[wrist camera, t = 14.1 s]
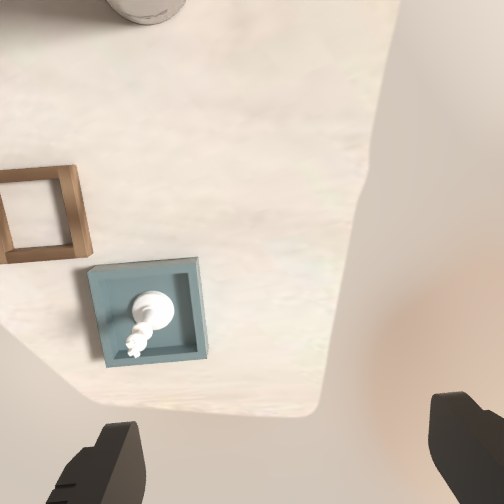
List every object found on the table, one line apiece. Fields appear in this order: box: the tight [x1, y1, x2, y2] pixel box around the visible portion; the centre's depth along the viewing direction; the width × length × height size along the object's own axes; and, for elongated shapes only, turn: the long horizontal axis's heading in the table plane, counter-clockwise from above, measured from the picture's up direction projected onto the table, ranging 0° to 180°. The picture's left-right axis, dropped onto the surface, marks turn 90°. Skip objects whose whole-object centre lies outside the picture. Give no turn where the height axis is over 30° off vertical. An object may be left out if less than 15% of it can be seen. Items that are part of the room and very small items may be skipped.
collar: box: [0, 165, 93, 264], centre depth 39 cm, size 10×10×2 cm
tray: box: [87, 257, 208, 368], centre depth 43 cm, size 12×12×3 cm
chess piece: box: [126, 291, 174, 358], centre depth 39 cm, size 5×5×10 cm
